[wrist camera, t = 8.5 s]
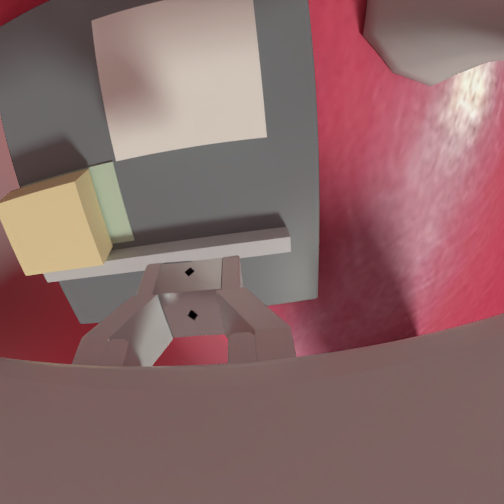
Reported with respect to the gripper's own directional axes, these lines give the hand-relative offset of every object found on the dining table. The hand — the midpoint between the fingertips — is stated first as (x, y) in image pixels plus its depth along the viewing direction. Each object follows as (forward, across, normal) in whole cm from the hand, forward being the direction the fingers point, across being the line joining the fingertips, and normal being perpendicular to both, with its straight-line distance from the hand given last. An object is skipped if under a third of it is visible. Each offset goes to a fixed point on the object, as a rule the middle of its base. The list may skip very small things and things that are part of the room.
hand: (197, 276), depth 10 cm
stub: (+7, +10, 0) cm, 12 cm away
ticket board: (+9, +3, -2) cm, 10 cm away
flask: (+10, -13, -9) cm, 19 cm away
